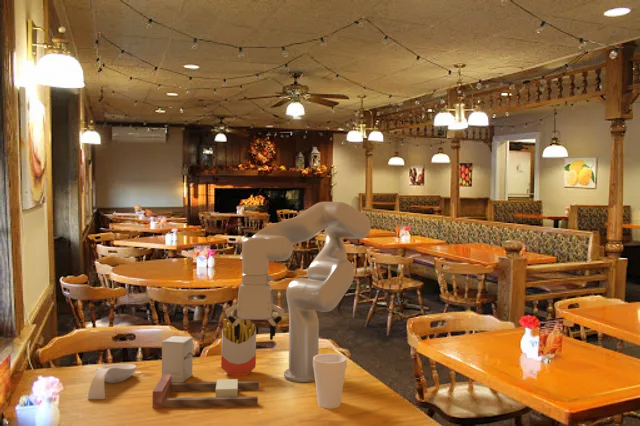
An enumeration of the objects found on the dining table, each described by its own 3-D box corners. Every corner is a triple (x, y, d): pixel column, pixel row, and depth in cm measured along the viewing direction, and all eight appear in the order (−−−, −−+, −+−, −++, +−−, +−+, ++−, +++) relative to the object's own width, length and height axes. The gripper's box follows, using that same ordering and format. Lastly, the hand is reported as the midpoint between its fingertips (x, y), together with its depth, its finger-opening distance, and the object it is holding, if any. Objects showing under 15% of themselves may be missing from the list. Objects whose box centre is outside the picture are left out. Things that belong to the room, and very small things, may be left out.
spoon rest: (103, 373, 178) (103, 351, 178) (140, 373, 179) (140, 351, 179) (75, 401, 155) (75, 375, 154) (118, 400, 155) (118, 375, 155)
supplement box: (183, 383, 169) (183, 342, 169) (160, 381, 171) (161, 341, 171) (193, 375, 177) (193, 336, 176) (171, 373, 178) (172, 335, 178)
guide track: (259, 387, 166) (259, 373, 166) (257, 405, 152) (257, 389, 152) (162, 389, 164) (162, 374, 164) (152, 407, 150) (152, 391, 150)
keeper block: (237, 392, 163) (237, 379, 163) (237, 402, 155) (237, 388, 155) (217, 393, 162) (217, 379, 162) (215, 403, 154) (215, 389, 154)
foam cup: (334, 413, 147) (335, 365, 147) (306, 406, 152) (306, 359, 152) (352, 402, 155) (352, 356, 155) (324, 395, 160) (324, 351, 160)
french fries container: (255, 375, 177) (255, 320, 177) (221, 375, 177) (221, 320, 176) (255, 370, 182) (256, 316, 181) (222, 371, 181) (222, 317, 181)
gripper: (285, 278, 162) (285, 335, 163) (226, 277, 162) (226, 335, 162) (284, 282, 155) (284, 342, 156) (223, 282, 154) (223, 342, 155)
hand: (254, 338), depth 159 cm, fingers open, 9 cm apart
